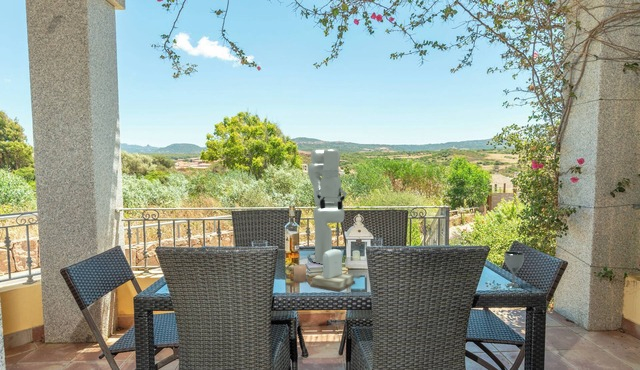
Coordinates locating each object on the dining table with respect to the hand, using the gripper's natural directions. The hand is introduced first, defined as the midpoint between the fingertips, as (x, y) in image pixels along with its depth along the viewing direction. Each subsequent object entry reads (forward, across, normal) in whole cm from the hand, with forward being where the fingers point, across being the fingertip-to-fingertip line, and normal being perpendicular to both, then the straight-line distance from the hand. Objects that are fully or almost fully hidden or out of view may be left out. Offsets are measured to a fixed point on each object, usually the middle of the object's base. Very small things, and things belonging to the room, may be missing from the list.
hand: (331, 208), depth 209 cm
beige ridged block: (+33, +9, -14) cm, 37 cm away
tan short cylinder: (+33, -8, -16) cm, 38 cm away
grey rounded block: (+30, +9, -14) cm, 34 cm away
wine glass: (+34, +80, +27) cm, 91 cm away
